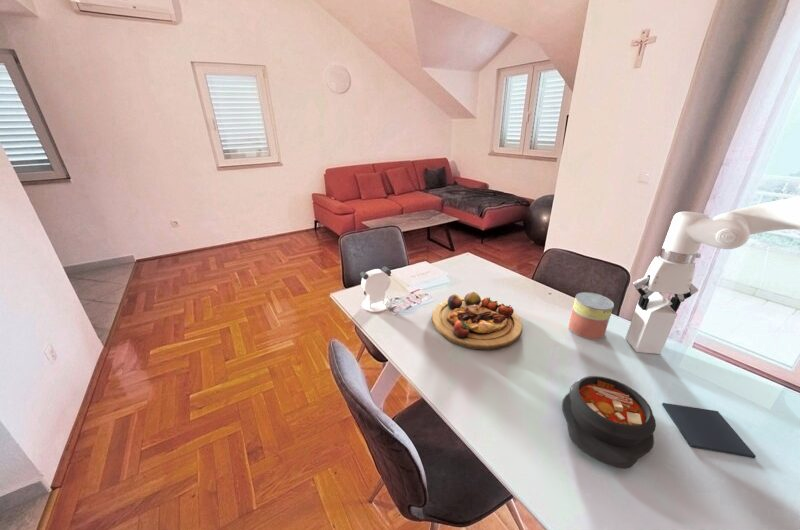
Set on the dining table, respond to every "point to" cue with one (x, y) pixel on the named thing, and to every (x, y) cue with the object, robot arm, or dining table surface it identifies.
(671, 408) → the mat
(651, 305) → the milk carton
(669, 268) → the robot arm
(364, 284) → the panda figurine
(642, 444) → the casserole
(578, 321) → the canned food
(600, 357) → the dining table surface
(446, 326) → the wooden plate
